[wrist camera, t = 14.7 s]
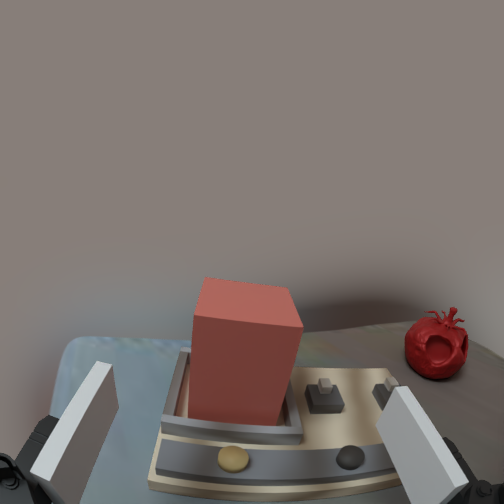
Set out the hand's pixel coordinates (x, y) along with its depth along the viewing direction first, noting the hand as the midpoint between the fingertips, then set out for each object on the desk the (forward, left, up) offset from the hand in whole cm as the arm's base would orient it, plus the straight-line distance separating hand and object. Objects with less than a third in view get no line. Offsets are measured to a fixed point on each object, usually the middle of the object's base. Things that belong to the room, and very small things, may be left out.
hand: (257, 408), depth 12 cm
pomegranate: (-27, -19, -11) cm, 35 cm away
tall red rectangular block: (0, -11, -9) cm, 14 cm away
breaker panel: (-6, -9, -11) cm, 15 cm away
